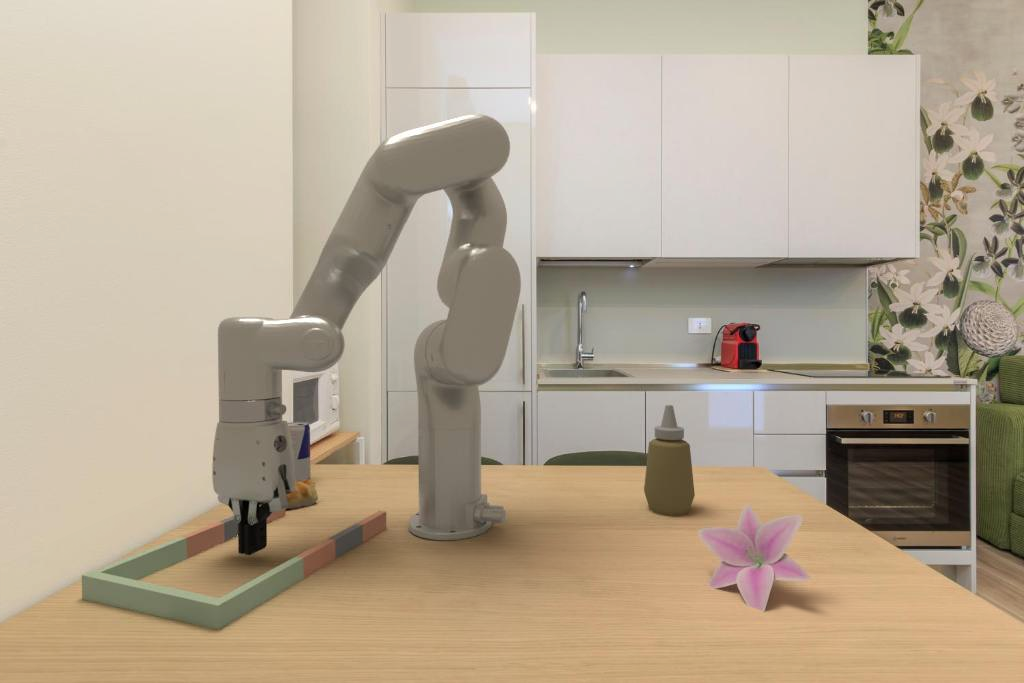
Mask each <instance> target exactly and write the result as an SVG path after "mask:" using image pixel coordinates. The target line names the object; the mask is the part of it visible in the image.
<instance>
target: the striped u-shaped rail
mask: <svg viewBox="0 0 1024 683" xmlns="http://www.w3.org/2000/svg"><path fill="white" fill-rule="evenodd" d="M260 506H261V505H260ZM286 510H287V509H286V508H284V509H282V510H279V511H273V512H272V513H271V516H270V518H268V519H267V524H269V523H271V522H270V521H272V522H273V520H274V521H276V520H278V519H277V518H279V519H281V518H283V517H285V516H284V515H286ZM282 516H283V517H282ZM280 517H281V518H280ZM275 519H276V520H275ZM268 522H269V523H268ZM238 524H239V523H237V522H235V520H234V516H233V515H232V516H230V517H227V518H224V519H222V520H219V521H216V522H214V523H211V524H209V525H207V526H204V527H202V528H199V529H196V530H194V531H191V532H188V533H186V534H183V535H181V536H178V537H176V538H173V539H171V540H167V541H165V542H163V543H160V544H158V545H155V546H153V547H150V548H148V549H145V550H143V551H140V552H138V553H134V554H132V555H130V556H128V557H124V558H122V559H120V560H119V559H118V560H117V561H115V562H112V563H109V564H107V565H103V566H102V567H99V568H97V569H94V570H91V571H89V572H86V573H84V574H81V600H85V601H90V602H93V603H98V604H103V605H107V606H112V607H115V608H116V607H117V608H121V609H125V610H130V611H133V612H139V613H142V614H147V615H151V616H156V617H161V618H163V619H169V620H174V621H178V622H182V623H187V624H190V625H196V626H199V627H204V628H208V629H212V630H217V631H219V630H221V629H222V628H224V627H225V626H227V625H230V624H231V623H233V622H234V621H236V620H238V619H239V618H240V617H242V616H244V615H246V614H248V613H249V612H251V611H252V610H254V609H255V608H258V607H259V606H261V605H262V604H264V603H265V602H268V601H269V600H270V599H272V598H273V597H275V596H277V595H279V594H281V593H282V592H283V591H285V590H286V589H288V588H290V587H292V586H294V585H295V584H296V583H299V582H300V581H302V580H303V579H305V578H306V577H308V576H310V575H312V574H313V573H315V572H317V571H318V570H321V568H323V567H325V566H326V565H328V564H330V563H331V562H333V561H335V560H336V559H338V558H340V557H341V556H343V555H344V554H346V553H348V552H350V551H351V550H353V549H354V547H355V548H356V547H358V546H359V545H361V544H363V543H365V542H367V540H370V539H371V538H372V537H374V536H376V535H378V534H379V533H381V532H383V531H384V530H386V529H387V511H385V510H384V511H383V510H378V511H376V512H374V513H373V514H371V515H369V516H367V517H365V518H362V519H361V520H360V521H358V522H355V523H354V524H352V525H350V526H349V527H346V528H345V529H343V530H341V531H339V532H338V533H336V534H334V535H332V536H331V537H328V538H326V539H325V540H323V541H321V542H319V543H318V544H316V545H314V546H312V547H311V548H308V549H307V550H305V551H303V552H301V553H300V554H298V555H296V556H294V557H292V558H290V559H287V561H284V562H283V563H280V564H279V565H278V566H276V567H274V568H272V569H270V570H268V571H266V572H264V573H263V574H260V575H258V577H256V578H255V577H254V578H253V579H252V580H250V581H248V582H246V583H244V584H243V585H240V586H238V587H236V588H235V589H233V590H232V591H229V592H228V593H226V594H224V595H222V596H221V597H216V596H212V595H206V594H202V593H197V592H192V591H188V590H183V589H179V588H173V587H169V586H164V585H160V584H155V583H150V582H147V581H142V580H140V579H143V578H145V577H147V576H149V575H152V574H154V573H156V572H159V571H161V570H164V569H165V568H169V567H170V566H173V565H175V564H177V563H179V562H181V561H184V560H186V559H188V558H191V557H193V556H196V555H198V554H200V553H202V551H203V552H205V551H207V550H209V549H212V548H214V547H216V546H218V545H217V544H219V545H220V543H221V544H223V543H225V542H224V541H226V542H228V541H230V540H232V539H231V538H233V537H235V536H237V535H238ZM237 537H238V536H237ZM235 538H236V537H235ZM229 539H230V540H229ZM233 539H234V538H233ZM227 540H228V541H227ZM222 542H223V543H222ZM215 545H216V546H215ZM213 546H214V547H213ZM211 547H212V548H211Z"/></svg>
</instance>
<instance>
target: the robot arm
mask: <svg viewBox="0 0 1024 683" xmlns="http://www.w3.org/2000/svg"><path fill="white" fill-rule="evenodd" d="M510 150H511V142H510V138H509V134H508V132H507V130H506V129H505V127H504V126H503V125H502V124H501V123H500V122H499V121H498V120H496V119H495V118H494V117H492V116H488V115H486V114H481V113H480V114H479V113H477V114H476V113H474V114H467V115H462V116H459V117H455V118H451V119H448V120H444V121H439V122H436V123H432V124H427V125H425V126H421V127H417V128H413V129H410V130H406V131H403V132H399V133H395V134H394V135H391V136H389V137H387V138H386V139H385V140H382V142H381V143H380V144H379V145H378V147H377V148H376V150H375V151H374V152H373V153H372V154H371V156H370V157H369V159H368V160H367V161H366V164H365V165H364V167H363V169H362V171H361V173H360V175H359V177H358V179H357V182H356V183H355V185H354V187H353V189H352V191H351V193H350V194H349V197H348V199H347V201H346V202H345V205H344V207H342V208H343V209H342V211H341V212H340V214H339V217H338V218H337V221H336V222H335V224H334V227H333V228H332V229H331V232H330V234H329V236H328V237H327V240H326V242H325V244H324V246H323V248H322V250H321V253H320V255H319V258H318V260H317V263H316V265H315V268H314V270H313V271H312V274H311V275H310V277H309V280H308V281H307V283H306V285H305V287H304V289H303V291H302V293H301V295H300V297H299V298H298V300H297V303H296V305H295V307H294V308H293V311H292V312H291V314H290V316H289V317H288V318H280V319H278V318H277V319H275V318H272V317H271V318H270V317H263V316H262V317H260V316H256V317H255V316H241V317H239V316H238V317H237V316H235V317H227V318H225V319H223V320H222V321H220V323H219V324H218V328H217V354H218V355H217V361H218V362H217V363H218V364H217V365H218V366H217V367H218V368H217V369H218V371H217V372H218V373H217V374H218V379H217V380H218V422H217V424H216V429H215V432H214V433H215V435H214V440H213V442H214V443H213V448H212V449H213V450H212V451H213V452H212V466H211V467H212V468H211V469H212V470H211V472H212V474H211V475H212V476H211V478H212V487H213V491H214V492H215V494H216V495H218V496H217V501H218V502H219V503H221V504H223V505H226V506H229V507H228V508H230V511H231V512H232V514H233V515H232V516H234V520H235V522H237V523H239V524H238V536H237V539H238V540H237V541H238V550H237V551H238V553H239V554H240V555H241V554H242V555H244V554H245V555H247V556H251V555H253V554H255V553H257V552H260V551H261V550H263V549H265V548H266V547H267V545H268V537H267V536H268V533H267V531H268V530H267V525H268V523H267V519H268V518H270V516H271V513H272V512H273V511H279V510H282V509H284V508H286V507H287V506H288V501H287V496H286V494H290V493H292V492H293V491H294V490H295V466H294V454H293V446H292V440H291V435H290V430H289V426H288V423H289V422H288V421H287V420H283V415H285V414H286V412H287V406H286V405H285V404H283V375H282V374H283V371H293V372H295V371H296V372H303V373H305V372H306V373H319V372H324V371H326V370H328V369H331V368H333V367H334V366H335V365H336V364H337V363H338V362H339V361H340V359H341V358H342V356H343V354H344V351H345V347H346V345H345V342H346V341H345V338H344V335H343V333H342V331H343V328H344V326H345V323H346V322H347V321H348V318H349V316H350V314H351V312H352V311H353V308H354V307H355V306H356V304H357V302H358V301H359V299H360V297H361V296H362V295H363V293H364V292H365V291H366V290H367V288H369V286H370V285H372V284H373V282H374V281H376V279H377V278H378V277H379V276H380V274H381V273H382V271H383V269H384V268H385V266H386V265H387V263H388V261H389V259H390V257H391V255H392V253H393V250H394V248H395V246H396V244H397V242H398V239H399V237H400V235H401V234H402V231H403V229H404V228H405V225H406V223H407V222H408V219H409V217H410V216H411V214H412V212H413V209H414V207H415V205H416V203H418V200H419V199H420V198H422V197H423V196H424V195H427V194H431V193H433V192H434V193H435V192H437V191H444V193H445V195H446V196H447V197H448V200H449V201H450V204H451V208H452V218H451V225H450V230H449V234H448V239H447V243H446V247H445V251H444V254H443V257H442V258H443V259H442V261H441V262H442V263H441V265H440V269H439V273H438V276H437V280H436V289H437V294H438V297H439V299H440V301H441V302H442V304H443V305H444V306H446V307H447V308H448V312H447V318H446V319H440V320H437V321H436V320H435V321H434V322H432V323H431V324H428V325H427V326H426V327H425V328H424V329H423V330H421V332H420V334H419V335H418V337H417V340H416V341H415V346H414V350H413V351H414V352H413V366H414V367H413V368H414V374H415V375H414V376H415V381H416V392H417V408H418V409H417V411H418V412H417V413H418V415H417V416H418V417H417V418H418V419H417V420H418V421H417V422H418V425H417V427H418V428H417V430H418V431H417V437H418V440H417V441H418V444H417V445H418V448H417V450H418V453H417V454H418V511H417V512H416V513H414V514H412V515H411V517H409V519H408V530H409V531H410V532H411V533H412V534H413V535H415V536H416V537H418V538H422V539H427V540H434V541H457V540H465V539H471V538H474V537H476V536H479V535H482V534H484V533H485V532H488V530H490V528H491V526H492V524H493V523H495V524H501V525H502V524H505V522H506V518H507V514H506V513H507V512H506V510H505V508H504V505H498V504H495V505H494V504H490V503H489V502H488V494H486V493H482V443H481V442H482V439H481V438H482V411H481V410H482V408H481V407H482V406H481V398H480V390H479V387H480V386H483V385H485V384H486V383H488V382H489V381H491V380H492V379H493V378H494V377H495V376H496V375H497V374H498V373H499V371H500V369H501V367H502V365H503V363H504V360H505V358H506V353H507V349H508V346H509V342H510V338H511V335H512V334H511V333H512V330H513V326H514V323H515V322H514V321H515V317H516V314H517V308H518V304H519V301H520V295H521V289H522V281H521V278H522V277H521V272H520V268H519V265H518V263H517V261H516V259H515V257H514V256H513V255H512V254H511V253H510V252H509V251H508V250H507V249H506V248H504V242H505V237H506V232H507V225H508V213H507V212H508V211H507V208H506V204H505V201H504V198H503V196H502V193H501V192H500V190H499V188H498V186H497V185H496V182H495V181H494V179H493V178H492V177H494V176H495V175H497V174H498V173H499V172H500V171H502V169H503V168H504V167H505V165H506V163H507V162H508V159H509V156H510V152H511V151H510ZM261 504H262V505H261ZM260 505H261V506H260Z"/></svg>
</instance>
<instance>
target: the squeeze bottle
mask: <svg viewBox="0 0 1024 683" xmlns="http://www.w3.org/2000/svg"><path fill="white" fill-rule="evenodd" d="M660 423H661V424H660V425H656V426H654V438H653V439H651V440H650V441H649V442H648V448H647V449H648V450H647V459H646V466H645V467H646V468H645V477H644V478H645V479H644V485H643V486H644V487H643V492H644V496H645V498H646V502H647V505H648V507H649V508H648V509H649V511H651V512H652V513H656V514H658V515H663V516H675V517H676V516H683V515H686V514H689V512H690V510H691V507H692V505H693V501H694V499H695V496H696V495H695V484H694V476H693V475H694V474H693V464H692V463H693V462H692V455H691V454H692V452H691V445H690V444H689V442H687V441H686V440H684V439H685V429H684V427H681V426H678V423H677V418H676V415H675V410H674V405H672V404H671V405H670V404H668V405H667V404H666V405H665V407H664V411H663V417H662V419H661V422H660Z"/></svg>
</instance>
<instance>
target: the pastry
mask: <svg viewBox="0 0 1024 683" xmlns="http://www.w3.org/2000/svg"><path fill="white" fill-rule="evenodd" d="M310 479H311V478H310ZM310 479H308V480H305V479H303V480H302V481H297V482H296V481H295V490H294V491H293V492H292V493H290V494H286V496H287V501H288V506H287V507H286V510H290V509H291V510H292V509H299V508H302V507H305V506H306V507H310V506H312V504H313V505H315V504H316V502H317V501H318V499H319V496H318V492H317V489H316V486H315V483H314V481H313V480H312V479H311V480H310ZM261 505H262V504H261ZM309 505H310V506H309Z"/></svg>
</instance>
